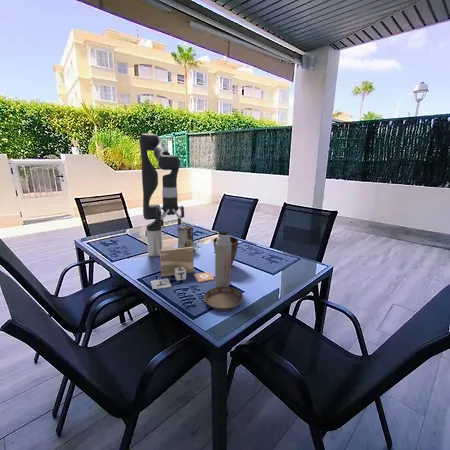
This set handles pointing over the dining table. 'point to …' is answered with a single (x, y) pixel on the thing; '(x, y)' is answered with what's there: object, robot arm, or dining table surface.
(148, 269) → the dining table surface
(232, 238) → the plant pot
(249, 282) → the dining table surface
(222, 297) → the plant saucer
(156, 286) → the pad
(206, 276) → the pad
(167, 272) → the screen
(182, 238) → the coffee box
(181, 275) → the letter cube
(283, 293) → the dining table surface
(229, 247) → the thermos bottle
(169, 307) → the dining table surface
